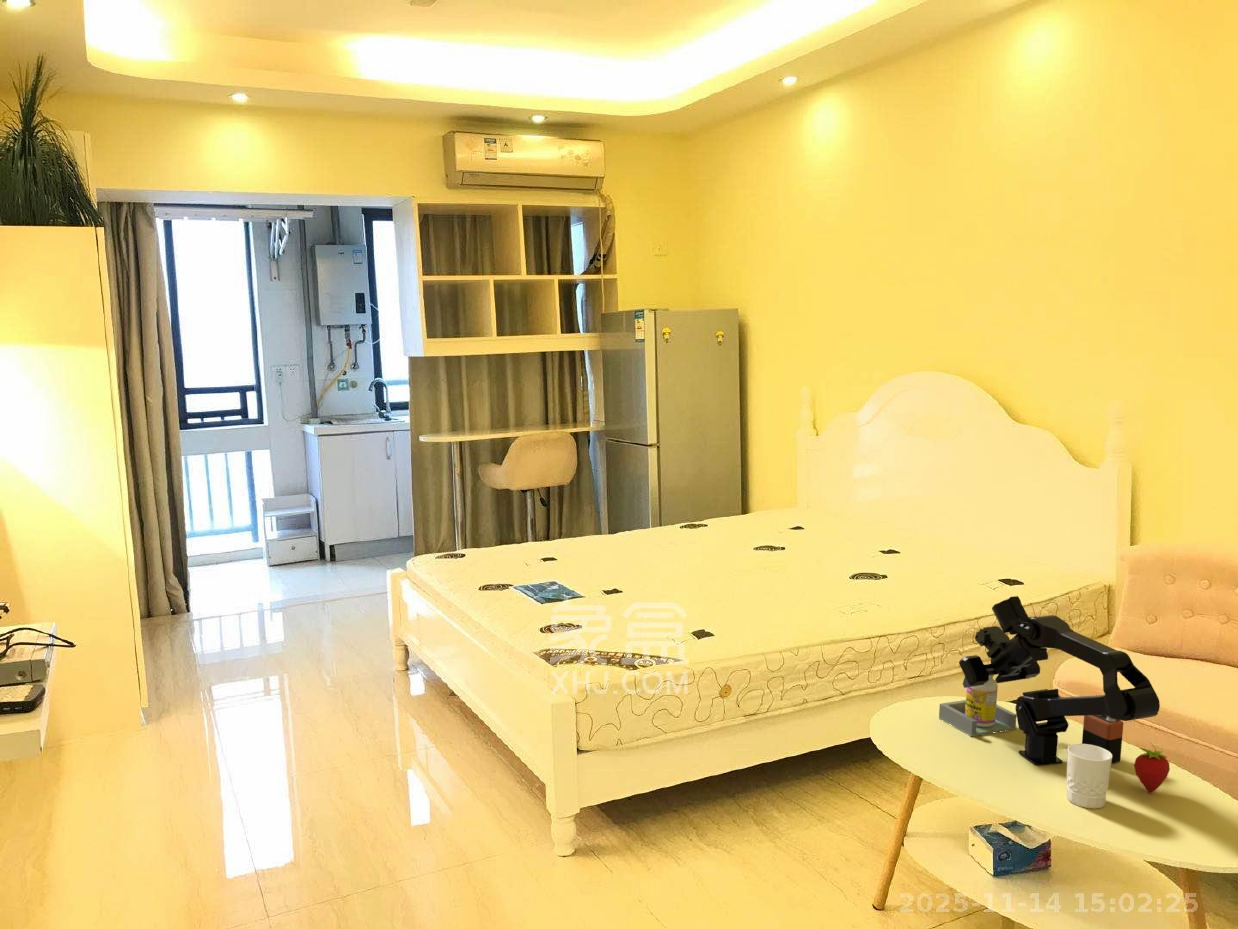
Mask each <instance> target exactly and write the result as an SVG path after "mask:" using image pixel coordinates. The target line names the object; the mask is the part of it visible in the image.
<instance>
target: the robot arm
mask: <svg viewBox="0 0 1238 929" xmlns="http://www.w3.org/2000/svg"><path fill="white" fill-rule="evenodd" d="M991 610H992V612H993V614H994V616H995V618H996V619H997V622H998V624H999V626H1000V627H999V626H996V625H993V626H987V627H983V628H980V629H979V631H976V633H975V636H974V640H975V641H976V643H978V645H979V646H980V647H985V648H986V649H987V652H986V655H987V657H988V659H990V663H988V664H986V663H985V664H984V662H983V660H982V658H981V656H979V655H977V654H976V655H967V656H963V657H962V658H961V659H960V660H959V662H958V664H959V667H960V668H961V669H960V670H962V673H963V675H964V678H963V681H962V685H963V688H966V689H967V687H973V686H980V685H984V683H986V682H987V681H989V676H990V675H994V676H995V675H996V677H995V678H994V680H995V681H996V682H997V684H1001V683H1002V684H1003V683H1007V682H1008V683H1009V682H1015V681H1020V680H1021V681H1022V680H1029V679H1030V678H1031V679H1032V678H1036V677H1037V676H1038V675H1040V674H1041V666H1040V665H1039V663H1038V662H1039V661H1040V662H1041V661H1045V660H1049V653H1048V648H1049V649H1056V650H1060V651H1062V652H1064V653H1066V654H1068V655H1070V656H1072V657H1074V658H1077V659H1078V660H1080V661H1083V662H1085V663H1087V664H1088V665H1089V664H1090V665H1091V666H1094V667H1096V668H1098V669H1099V670H1100V672H1101V675H1102V690H1103V693H1104V694H1099V695H1080V696H1061V695H1059V694H1060V693H1059V689H1058V688H1055V689H1053V688H1052V689H1047V688H1046V689H1045V688H1044V689H1039V690H1037V689H1036V690H1030V691H1024V692H1022V695H1020V696H1018V697H1017V699H1016V704H1015V714H1016V715H1017V716H1016V721H1017V725H1018V730H1020V731H1022V733H1023V734H1024V735H1025V742H1024V750H1022V749H1021V750H1018V754H1019V755H1020V756H1022V757H1023V758H1025V759H1026V760H1028V761H1029V762H1030V763H1032V764H1033V765H1035V766H1043V765H1044V766H1045V765H1055V764H1056V765H1057V764H1063V762H1064V761H1063V759H1061V758H1059V756H1057V754H1058V752H1057V751H1058V742H1059V741H1058V740H1059V735H1058V733H1059V734H1060V733H1066V732H1067V730H1068V728H1069V725H1070V724H1069V722H1068V721H1067V720H1068V719H1067V718H1066V717H1075V716H1076V717H1081V716H1082V717H1084V716H1087V715H1107V716H1108V717H1110V718H1112V719H1116V720H1121V721H1122V722H1123V721H1124V722H1129V721H1134V720H1140V719H1141V720H1142V719H1146V718H1153V717H1157V716H1158V714H1159V711H1160V707H1161V703H1160V699H1159V696H1158V694H1157V692H1156V691H1155V688H1154V687H1153V685H1152V683H1151V682H1150V680H1149V678H1148V677H1147V675H1145V674H1144V673H1143V672H1142V671H1141V670H1140V669H1139V668H1137V667H1136V665H1134V663H1133V661H1132V659H1131V657H1130V656H1129V654H1128V653H1126V652H1124V651H1123V650H1117V649H1114V648H1113V647H1110V646H1108V645H1105V644H1104V643H1101V642H1099V641H1097V640H1094V639H1092V638H1090V637H1088V636H1085V635H1083V634H1082V633H1078V632H1076V631H1074V630H1073V629H1072V628H1071V627H1070V625H1069V623H1068V622H1066V621H1065V620H1063V619H1061V618H1060V617H1059V616H1057V615H1054V614H1051V615H1050V614H1048V615H1043V616H1029V615H1028V613H1027V612H1026V610H1025V608H1024V606H1023V604H1022V601H1021V599H1020V597H1019V595H1015V596H1010V597H1009V598H1007V599H1004V600H1002V601H999V602H997V603H995V604H993V606H992V607H991ZM1007 633H1009V635H1012V636H1013V637H1012V638H1010V637H1009V635H1007ZM1118 673H1120V675H1122V676H1123V677H1124V678H1125V680H1126V681H1128V682H1129V683H1130V685H1132V686H1133V687H1131V688H1125V689H1121V688H1120V686H1119V684H1118ZM1038 722H1040V723H1038Z"/></svg>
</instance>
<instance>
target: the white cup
mask: <svg viewBox="0 0 1238 929" xmlns="http://www.w3.org/2000/svg"><path fill="white" fill-rule="evenodd" d="M1066 752H1067V753H1066V754H1067V755H1066V756H1067V757H1066V759H1067V760H1066V785H1067V788H1066V790H1067V792H1066V798H1067V800H1068V801H1069V802H1070V803H1072V804H1073V805H1076V806H1078V807H1081V808H1085V809H1094V810H1095V809H1101V808H1103V807H1105V806H1106V801H1107V800H1106V798H1107V792H1108V790H1109V783H1110V777H1111V769H1112V764H1111V763H1112V754H1111V753H1110V752H1109V751H1108V750H1106V749H1104V748H1101V747H1098V746H1094V745H1089V744H1082V743H1074V744H1073V743H1072V744H1070V745H1069V746H1067V751H1066Z"/></svg>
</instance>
